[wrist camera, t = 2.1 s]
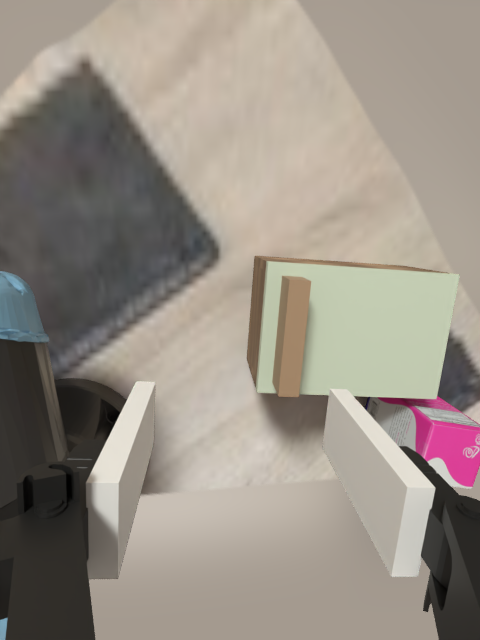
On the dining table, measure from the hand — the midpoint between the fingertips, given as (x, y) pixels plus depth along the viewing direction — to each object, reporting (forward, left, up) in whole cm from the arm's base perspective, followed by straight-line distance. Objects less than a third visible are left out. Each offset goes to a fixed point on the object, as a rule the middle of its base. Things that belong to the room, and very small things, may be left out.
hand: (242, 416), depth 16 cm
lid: (+11, 0, -17) cm, 20 cm away
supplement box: (+20, -10, -25) cm, 34 cm away
